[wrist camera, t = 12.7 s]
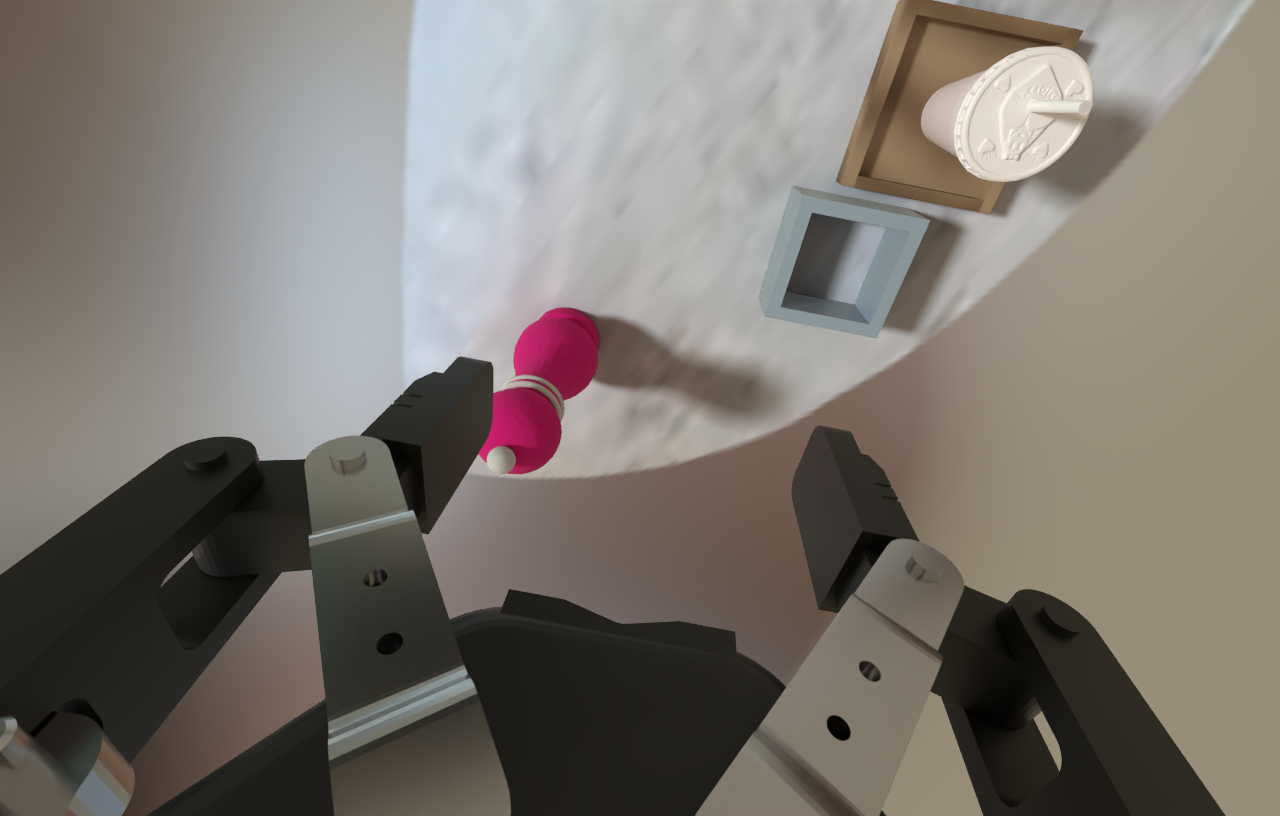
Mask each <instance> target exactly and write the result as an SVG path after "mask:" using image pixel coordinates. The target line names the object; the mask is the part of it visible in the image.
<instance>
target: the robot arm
mask: <svg viewBox="0 0 1280 816" xmlns="http://www.w3.org/2000/svg"><path fill="white" fill-rule="evenodd" d="M492 421H493V366H492V363H491V362H487V361H482V360H477V359H472V358H466V357H458V358H457V359H456V360H455V361H454V362H453V363H452V364H451V365H450V366H449V368H448V369H447V370H446V371H445V372H444V373H438V372H433V373H431V374H428V375H426V376H424V377H422V378H420V379H417V380H415V381H414V382H413V383H412V384H411V385H410V386H409V387H408V388H407V389H406V390H405V391H404V394H403V395H400V396H399V397H398V398H397V399H396V400H395V402H394V404H393V405H392V404H391V405H390V406H389V407H388V408H387V409H386V410H385V411H384V412H383V413H382V414H381V415H380V416H379V417H378V418H377V419H376V420H375V421H374V422H373V423H372V424H371V425H370V426H369V427H368V428H367V429H366V430H365V431H364V432H363V433H362V434H361V435H360V436H347V437H341V438H337V439H334V440H330V441H328V442H326V443H323V444H321V445H320V446H318V447H316V448H315V449H314V450H313V451H311V452H310V454H309V455H308V456H307V458H306V459H303V460H271V461H259V458H258V454H257V451H256V448H255V447H254V445H253V444H252V443H250V442H249V441H247V440H244V439H241V438H236V437H212V438H206V439H202V440H197V441H194V442H191V443H188V444H185V445H182V446H180V447H178V448H176V449H174V450H172V451H171V452H169V453H167V454H166V455H164V456H163V457H162V458H161V459H159V460H158V461H156V462H155V463H154V464H152V465H151V466H149V467H148V468H147V469H145V470H144V471H142V472H141V473H140V474H138V475H137V476H136V477H134V478H133V479H131V480H130V481H129V482H128V483H126V484H125V485H123V486H122V487H120V488H119V489H118V490H116V491H115V492H114V493H112V494H111V495H110V496H108V497H107V498H105V499H104V500H103V501H101V502H100V503H99V504H97V505H96V506H94V507H93V508H92V509H91V510H89V511H88V512H86V513H85V514H83V515H82V516H81V517H79V518H78V519H77V520H75V521H74V522H73V523H71V524H70V525H68V526H67V527H66V528H64V529H63V530H61V531H60V532H59V533H57V534H56V535H55V536H53V537H52V538H51V539H49V540H48V541H46V542H45V543H44V544H42V545H41V546H40V547H38V548H37V549H35V550H34V551H33V552H31V553H30V554H29V555H27V556H26V557H25V558H23V559H22V560H20V561H19V562H18V563H16V564H15V565H14V566H12V567H11V568H10V569H8V570H7V571H5V572H4V573H2V574H1V575H0V816H121V815H122V814H123V812H124V811H125V809H126V807H127V805H128V803H129V800H130V798H131V795H132V792H133V788H134V773H133V769H132V767H131V766H130V763H131V762H132V761H133V759H134V758H135V757H136V756H137V754H138V753H139V752H140V751H141V749H142V748H143V747H144V745H145V744H146V743H147V742H148V740H149V739H150V738H151V737H152V735H153V734H154V733H155V732H156V730H157V729H158V728H159V727H160V725H161V724H162V723H163V721H164V720H165V719H166V718H167V716H168V715H169V714H170V713H171V711H172V710H173V709H174V708H175V706H176V705H177V704H178V702H179V701H180V700H181V699H182V698H183V696H184V695H185V694H186V693H187V691H188V690H189V689H190V687H191V686H192V685H193V684H194V682H195V681H196V680H197V679H198V677H199V676H200V675H201V674H202V672H203V671H204V670H205V669H206V667H207V666H208V665H209V664H210V662H211V661H212V660H213V658H214V657H215V656H216V655H217V653H218V652H219V651H220V650H221V648H222V647H223V646H224V645H225V643H226V642H227V641H228V640H229V638H230V637H231V636H232V634H233V633H234V632H235V630H236V629H237V628H238V627H239V625H240V624H241V623H242V622H243V621H244V619H245V618H246V617H247V616H248V614H249V613H250V612H251V610H252V609H253V608H254V607H255V605H256V604H257V603H258V602H259V600H260V599H261V598H262V597H263V595H264V594H265V593H266V591H267V590H268V589H269V588H270V586H271V585H272V584H273V583H274V581H275V580H276V579H277V578H278V576H279V575H280V574H281V573H282V572H289V571H301V570H312V576H313V585H314V595H315V603H316V613H317V622H318V632H319V641H320V651H321V660H322V670H323V678H324V687H325V699H324V700H322V701H321V702H319V703H318V704H316V705H315V706H313V707H312V708H310V709H308V710H307V711H305V712H304V713H303V714H301V715H300V716H298V717H296V718H295V719H293V720H292V721H290V722H289V723H287V724H286V725H284V726H282V727H281V728H279V729H278V730H276V731H275V732H273V733H272V734H270V735H269V736H267V737H266V738H264V739H263V740H261V741H259V742H258V743H257V744H255V745H254V746H252V747H250V748H249V749H247V750H246V751H244V752H243V753H241V754H240V755H238V756H237V757H235V758H234V759H232V760H230V761H229V762H227V763H226V764H224V765H223V766H221V767H220V768H218V769H217V770H215V771H214V772H212V773H211V774H209V775H207V776H206V777H204V778H203V779H201V780H200V781H198V782H197V783H195V784H194V785H192V786H191V787H189V788H188V789H186V790H184V791H183V792H181V793H180V794H179V795H177V796H175V797H174V798H172V799H171V800H169V801H168V802H166V803H165V804H163V805H162V806H160V807H158V808H157V809H156V810H154V811H152V812H151V813H149V814H148V815H146V816H886V815H885V814H884V812H883V811H882V808H883V805H884V803H885V800H886V798H887V795H888V793H889V791H890V788H891V786H892V783H893V781H894V778H895V776H896V773H897V771H898V768H899V766H900V764H901V761H902V759H903V756H904V754H905V752H906V749H907V747H908V744H909V742H910V739H911V737H912V734H913V732H914V730H915V727H916V725H917V722H918V720H919V717H920V715H921V712H922V710H923V708H924V705H925V703H926V700H927V698H928V695H929V693H930V691H931V692H933V693H935V694H937V695H939V696H941V697H942V700H943V703H944V706H945V709H946V712H947V714H948V717H949V720H950V723H951V726H952V729H953V731H954V734H955V737H956V740H957V742H958V745H959V748H960V751H961V754H962V756H963V759H964V762H965V765H966V768H967V771H968V773H969V776H970V779H971V782H972V785H973V788H974V790H975V793H976V796H977V799H978V802H979V805H980V807H981V810H982V813H983V816H1225V814H1224V813H1223V812H1222V810H1221V809H1220V807H1219V806H1218V804H1217V803H1216V801H1215V800H1214V799H1213V797H1212V796H1211V794H1210V793H1209V791H1208V790H1207V789H1206V788H1205V786H1204V784H1203V783H1202V781H1201V780H1200V779H1199V777H1198V776H1197V774H1196V773H1195V771H1194V770H1193V768H1192V767H1191V766H1190V764H1189V763H1188V761H1187V760H1186V758H1185V757H1184V756H1183V754H1182V753H1181V751H1180V750H1179V748H1178V747H1177V746H1176V744H1175V743H1174V741H1173V740H1172V738H1171V737H1170V736H1169V734H1168V733H1167V731H1166V730H1165V728H1164V727H1163V725H1162V724H1161V723H1160V721H1159V720H1158V718H1157V717H1156V715H1155V714H1154V712H1153V711H1152V710H1151V708H1150V707H1149V705H1148V704H1147V702H1146V701H1145V700H1144V698H1143V697H1142V696H1141V694H1140V692H1139V691H1138V690H1137V688H1136V687H1135V685H1134V684H1133V683H1132V681H1131V679H1130V678H1129V677H1128V675H1127V674H1126V672H1125V671H1124V669H1123V668H1122V667H1121V665H1120V664H1119V662H1118V661H1117V659H1116V658H1115V657H1114V655H1113V654H1112V652H1111V651H1110V649H1109V648H1108V646H1107V645H1106V644H1105V642H1104V641H1103V640H1102V638H1101V636H1100V635H1099V634H1098V632H1097V631H1096V630H1095V628H1094V627H1093V626H1092V625H1091V624H1090V623H1089V622H1088V621H1087V619H1085V618H1084V617H1083V616H1082V615H1081V614H1080V613H1078V612H1077V611H1076V610H1075V609H1073V608H1072V607H1070V606H1069V605H1068V604H1066V603H1064V602H1063V601H1061V600H1059V599H1057V598H1055V597H1053V596H1051V595H1049V594H1046V593H1044V592H1040V591H1036V590H1031V589H1028V590H1027V589H1025V590H1020V591H1018V592H1016V593H1015V595H1014V596H1013V597H1012V598H1011V599H1010V600H1009V601H1008V603H1004V602H1002V601H999V600H997V599H995V598H992V597H990V596H988V595H985V594H983V593H981V592H978V591H976V590H973V589H971V588H969V587H967V586H965V585H964V581H963V578H962V576H961V574H960V572H959V571H958V569H957V568H956V566H955V565H954V564H953V563H952V562H951V561H950V560H949V559H948V558H947V557H946V556H944V555H943V554H942V553H940V552H939V551H937V550H936V549H934V548H932V547H930V546H928V545H926V544H924V543H921V542H919V540H918V538H917V536H916V534H915V532H914V530H913V528H912V526H911V524H910V522H909V520H908V518H907V516H906V514H905V512H904V510H903V508H902V506H901V504H900V502H898V501H897V499H898V498H897V496H896V494H895V492H894V490H893V489H891V484H890V482H889V480H888V478H887V476H886V475H885V472H884V470H883V469H882V468H881V467H880V466H878V465H877V463H876V462H875V461H874V460H873V459H872V458H870V457H869V455H864V454H861V452H860V450H859V448H858V446H857V444H856V441H855V439H854V437H853V435H852V433H851V432H850V431H846V430H840V429H835V428H830V427H825V426H817V427H816V428H815V429H814V431H813V432H812V435H811V437H810V439H809V442H808V444H807V447H806V449H805V451H804V454H803V456H802V458H801V461H800V463H799V466H798V468H797V470H796V473H795V475H794V479H793V483H792V501H793V505H794V509H795V513H796V517H797V521H798V526H799V530H800V534H801V538H802V542H803V546H804V550H805V555H806V558H807V563H808V567H809V571H810V576H811V579H812V584H813V588H814V592H815V596H816V601H817V605H818V609H819V610H825V611H830V612H836V613H838V614H837V616H836V617H835V619H834V620H833V621H832V623H831V624H830V626H829V627H828V629H827V630H826V631H825V633H824V634H823V636H822V637H821V639H820V640H819V641H818V643H817V644H816V646H815V647H814V649H813V650H812V651H811V653H810V654H809V656H808V657H807V659H806V660H805V661H804V663H803V664H802V666H801V667H800V669H799V670H798V671H797V673H796V674H795V676H794V677H793V679H792V680H791V681H790V683H789V684H788V686H787V687H785V685H784V684H783V683H782V682H781V681H780V680H779V679H777V678H776V677H775V676H774V675H773V674H772V673H770V672H769V671H768V670H767V669H765V668H764V667H763V666H761V665H760V664H758V663H757V662H755V661H754V660H752V659H750V658H749V657H747V656H745V655H743V654H741V653H739V652H737V651H736V641H735V640H736V639H735V632H733V631H729V630H723V629H718V628H713V627H707V626H702V625H697V624H691V623H686V622H681V621H675V622H658V623H657V622H656V623H636V624H621V623H617V622H614V621H612V620H609V619H607V618H605V617H603V616H600V615H598V614H595V613H594V612H591V611H589V610H587V609H585V608H582V607H580V606H578V605H576V604H573V603H571V602H569V601H567V600H564V599H559V598H553V597H548V596H543V595H538V594H532V593H527V592H521V591H516V590H511V589H509V591H508V594H507V596H506V599H505V601H504V604H503V607H493V608H487V609H480V610H476V611H473V612H469V613H465V614H463V615H460V616H458V617H455V618H452V619H450V620H449V617H448V614H447V611H446V608H445V605H444V602H443V599H442V595H441V592H440V589H439V586H438V583H437V580H436V577H435V574H434V571H433V568H432V565H431V562H430V559H429V555H428V552H427V549H426V546H425V543H424V540H423V537H422V534H421V533H425V534H429V533H430V531H431V529H432V528H433V526H434V525H435V523H436V521H437V520H438V518H439V517H440V515H441V513H442V512H443V510H444V508H445V507H446V505H447V503H448V502H449V500H450V499H451V497H452V496H453V494H454V492H455V490H456V489H457V487H458V486H459V484H460V482H461V481H462V479H463V478H464V476H465V474H466V473H467V471H468V470H469V468H470V466H471V465H472V463H473V462H474V460H475V458H476V457H477V455H478V453H479V452H480V450H481V449H482V447H483V445H484V444H485V442H486V440H487V438H488V436H489V434H490V430H491V426H492ZM191 551H192V553H193V556H192V557H191V558H190V559H189V560H188V561H187V562H186V563H185V564H184V565H183V566H182V567H181V568H180V569H179V570H178V571H177V572H176V573H175V574H174V575H173V576H172V577H171V578H170V579H169V580H168V581H167V582H166V583H165V584H164V585H163V586H162V587H161V585H162V582H163V581H164V579H165V578H166V576H167V575H168V574H169V573H170V571H172V570H173V568H175V567H176V566H177V565H178V564H179V563H180V562H181V561H182V560H183V559H184V558H185V557H186V556H187V555H188V554H189V553H190V552H191ZM160 587H161V588H160ZM1041 711H1042V712H1043V714H1044V716H1045V718H1046V720H1047V722H1048V724H1049V726H1050V728H1051V730H1052V732H1053V733H1054V735H1055V737H1056V739H1057V742H1058V744H1059V746H1060V750H1061V756H1062V765H1061V770H1060V772H1059V770H1058V768H1057V766H1056V764H1055V762H1054V759H1053V757H1052V755H1051V753H1050V751H1049V749H1048V747H1047V745H1046V743H1045V741H1044V739H1043V737H1042V735H1041V733H1040V731H1039V729H1038V727H1037V725H1036V723H1035V721H1034V719H1033V718H1034V717H1035V716H1037V715H1038V714H1039V713H1040V712H1041Z"/></svg>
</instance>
